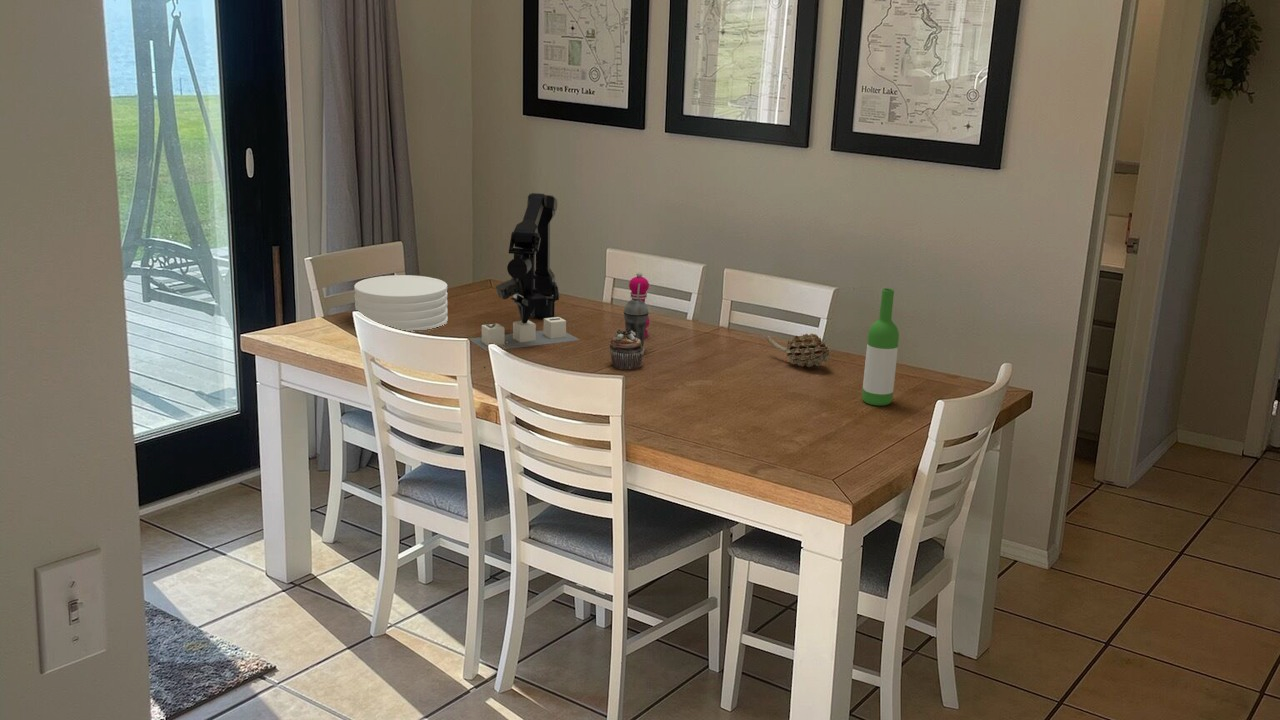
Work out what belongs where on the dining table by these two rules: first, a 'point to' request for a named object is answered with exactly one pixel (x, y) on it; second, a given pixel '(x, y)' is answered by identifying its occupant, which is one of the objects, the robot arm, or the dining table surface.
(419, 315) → the plate stack
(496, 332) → the block seven
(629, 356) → the cupcake
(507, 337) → the mat
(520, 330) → the plain block
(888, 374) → the wine bottle
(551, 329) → the block one
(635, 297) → the pepper mill
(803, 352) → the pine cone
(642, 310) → the beverage cup
